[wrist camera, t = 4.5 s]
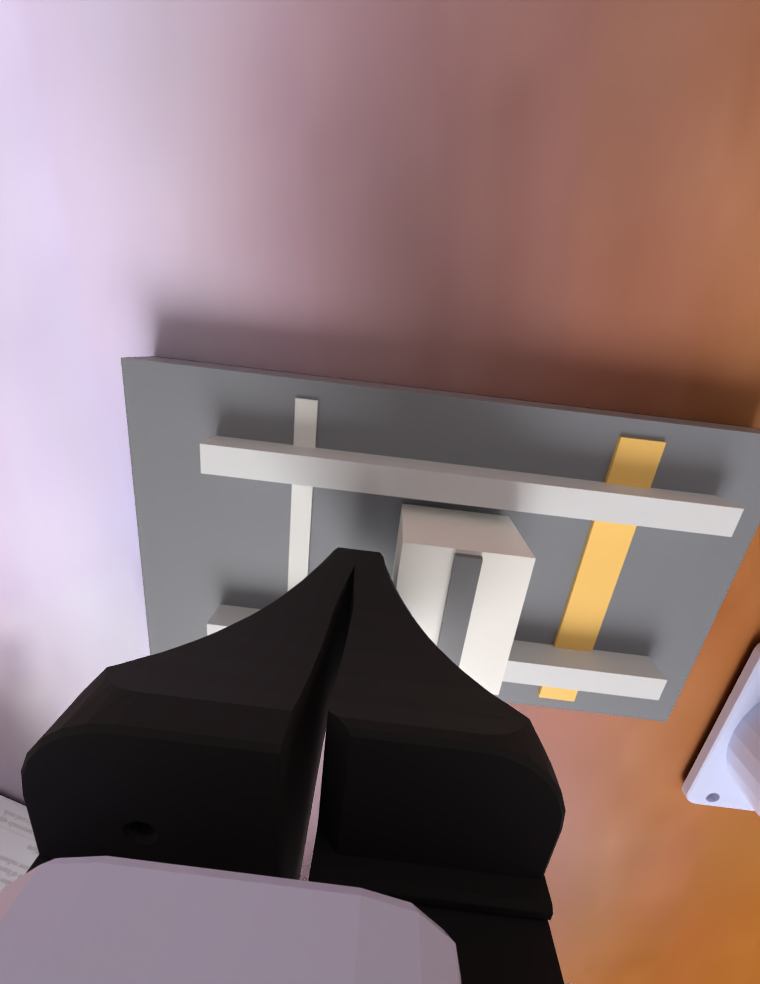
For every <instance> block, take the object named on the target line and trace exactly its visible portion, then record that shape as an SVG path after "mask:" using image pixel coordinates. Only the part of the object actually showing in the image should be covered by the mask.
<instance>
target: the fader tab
mask: <svg viewBox="0 0 760 984" xmlns="http://www.w3.org/2000/svg"><path fill="white" fill-rule="evenodd" d="M535 559H536V558H535V556H534V555H533V553H532V552H531V550H530V549H529V547H528V546H527V544H526V542H525V541H524V539H523V538H522V536H521V535H520V533H519V531H518V530H517V528H516V527H515V525H514V524H513V522H512V521H511V519H510V517H509V516H501V515H493V514H485V513H476V512H468V511H460V510H451V509H443V508H435V507H427V506H418V505H410V504H402V508H401V515H400V522H399V529H398V536H397V544H396V551H395V558H394V565H393V572H392V581H393V583H394V585H395V587H396V589H397V591H398V593H399V595H400V597H401V598H402V600H403V602H404V604H405V605H406V607H407V608H408V610H409V611H410V613H411V614H412V616H413V617H414V619H415V620H416V622H417V623H418V624H419V626H420V627H421V628H422V629H423V631H424V632H425V633H426V634H427V636H428V637H429V638H430V639H431V640H432V641H433V643H434V644H435V645H436V646H437V647H438V648H439V649H440V650H441V651H442V652H443V653H444V654H445V655H446V656H447V657H448V658H449V659H450V660H451V661H452V662H454V663H455V664H456V665H457V666H458V667H459V668H460V669H462V670H463V671H464V672H465V673H466V674H467V675H469V676H470V677H471V678H472V679H474V680H475V681H476V682H477V683H479V684H480V685H481V686H482V687H484V688H485V689H486V690H488V691H489V692H490V693H492V694H493V695H499V691H500V688H501V684H502V680H503V677H504V673H505V669H506V666H507V662H508V658H509V655H510V651H511V647H512V644H513V640H514V636H515V633H516V629H517V625H518V622H519V618H520V614H521V611H522V607H523V603H524V600H525V596H526V592H527V589H528V585H529V581H530V578H531V574H532V570H533V567H534V563H535Z"/></svg>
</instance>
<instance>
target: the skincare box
mask: <svg viewBox="0 0 760 984" xmlns="http://www.w3.org/2000/svg"><path fill="white" fill-rule="evenodd" d="M38 855H39V852H38V848H37V845H36V841H35V837H34V834H33V830H32V826H31V822H30V819H29V815H28V811H27V808H26V806H24V805H22V804H20V803H18V802H15V801H13V800H11V799H8V798H6V797H4V796H1V795H0V893H1V891H2V890H3V889H4V887H5V886H6V885H8V884H10V883H11V882H13V881H14V880H16V879H18V878H19V877H21V876H23V875H24V874H26V872H27V871H28V869H29V868H30V866H31V865H32V864H33V862H34V861H35V859H36V858H37V857H38Z"/></svg>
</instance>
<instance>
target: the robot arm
mask: <svg viewBox="0 0 760 984" xmlns="http://www.w3.org/2000/svg"><path fill="white" fill-rule="evenodd" d="M325 732H326V739H325V750H324V762H323V773H322V784H321V796H320V807H319V818H318V827H317V833H316V839H315V845H314V851H313V856H312V862H311V868H310V874H309V881H303V880H299V878H300V872H301V866H302V860H303V854H304V848H305V843H306V837H307V831H308V825H309V819H310V814H311V808H312V802H313V797H314V791H315V785H316V779H317V774H318V768H319V763H320V757H321V751H322V746H323V740H324V736H325ZM21 776H22V788H23V797H24V800H25V804H26V808H27V811H28V815H29V819H30V822H31V826H32V830H33V834H34V837H35V841H36V845H37V848H38V852H39V855H38V857H37V858H36V859H35V861H34V862H33V864H32V865H31V866H30V868H29V869H28V871H27V872H26V874H24V875H23V876H21V877H19V878H18V879H16V880H14V881H13V882H11V883H10V884H8V885H6V886H5V887H4V889H3V890H2V891H1V893H0V984H569V983H564V981H563V977H562V973H561V970H560V966H559V962H558V958H557V954H556V950H555V946H554V942H553V939H552V935H551V931H550V927H549V923H548V920H551V917H552V915H553V908H552V902H551V898H550V894H549V891H548V887H547V883H546V880H545V876H544V873H545V871H546V868H547V866H548V863H549V861H550V858H551V856H552V853H553V851H554V848H555V845H556V843H557V840H558V838H559V835H560V833H561V830H562V827H563V821H564V816H565V806H564V801H563V796H562V792H561V789H560V787H559V784H558V781H557V778H556V775H555V773H554V770H553V767H552V765H551V763H550V760H549V758H548V756H547V754H546V752H545V749H544V747H543V745H542V743H541V741H540V739H539V737H538V735H537V733H536V731H535V729H534V727H533V725H532V723H531V721H530V719H529V718H527V717H526V716H524V715H523V714H521V713H520V712H518V711H517V710H515V709H514V708H513V707H511V706H510V705H508V704H507V703H505V702H504V701H502V700H501V699H499V698H498V697H496V696H495V695H493V694H492V693H490V692H489V691H488V690H486V689H485V688H484V687H482V686H481V685H480V684H479V683H477V682H476V681H475V680H474V679H472V678H471V677H470V676H469V675H467V674H466V673H465V672H464V671H463V670H462V669H460V668H459V667H458V666H457V665H456V664H455V663H454V662H452V661H451V660H450V659H449V658H448V657H447V656H446V655H445V654H444V653H443V652H442V651H441V650H440V649H439V648H438V647H437V646H436V645H435V644H434V643H433V641H432V640H431V639H430V638H429V637H428V636H427V634H426V633H425V632H424V631H423V629H422V628H421V627H420V626H419V624H418V623H417V622H416V620H415V619H414V617H413V616H412V614H411V613H410V611H409V610H408V608H407V607H406V605H405V604H404V602H403V600H402V598H401V597H400V595H399V593H398V591H397V589H396V587H395V585H394V583H393V581H392V579H391V577H390V575H389V572H388V570H387V567H386V565H385V561H384V557H383V555H382V554H381V553H380V552H374V551H365V550H357V549H349V548H341V547H338V548H336V549H335V550H334V551H333V552H332V553H331V554H330V555H329V556H328V557H327V558H326V559H325V560H324V561H323V562H322V563H321V564H320V565H319V566H318V567H317V568H316V569H314V570H313V571H312V572H311V573H310V574H309V575H308V576H306V577H305V578H304V579H303V580H302V581H301V582H299V583H298V584H297V585H296V586H294V587H293V588H292V589H290V590H289V591H288V592H286V593H285V594H284V595H282V596H281V597H280V598H278V599H277V600H275V601H274V602H272V603H271V604H269V605H268V606H266V607H264V608H263V609H261V610H259V611H257V612H256V613H254V614H252V615H250V616H248V617H246V618H244V619H242V620H240V621H238V622H236V623H234V624H232V625H230V626H228V627H226V628H224V629H222V630H219V631H217V632H215V633H212V634H210V635H208V636H205V637H203V638H200V639H198V640H195V641H192V642H189V643H187V644H184V645H181V646H178V647H176V648H173V649H170V650H167V651H164V652H160V653H157V654H153V655H150V656H146V657H143V658H139V659H136V660H132V661H129V662H125V663H122V664H118V665H114V666H110V667H107V668H106V669H105V670H104V671H103V672H102V673H101V674H100V675H99V676H98V677H97V678H96V679H95V680H94V681H93V682H92V683H91V684H90V685H89V686H88V687H87V688H86V689H85V690H84V691H83V692H82V693H81V694H80V695H79V696H78V697H77V698H76V700H75V701H74V702H73V703H72V704H71V705H70V706H69V707H68V709H67V710H66V711H65V712H64V713H63V714H62V715H61V716H60V717H59V719H58V720H57V721H56V722H55V723H54V724H53V725H52V726H51V727H50V729H49V730H48V731H47V732H46V733H45V734H44V735H43V736H42V737H41V738H40V740H39V741H38V742H37V743H36V744H35V745H34V746H33V747H32V748H31V750H30V751H29V752H28V753H27V755H26V758H25V761H24V764H23V767H22V770H21ZM682 791H683V793H684V795H685V796H686V798H687V799H688V800H689V801H690V802H692V803H696V804H703V805H711V806H719V807H727V808H735V809H744V810H752V811H756V812H757V814H758V815H759V816H760V643H758V644H757V645H756V647H755V648H754V650H753V652H752V654H751V655H750V657H749V659H748V661H747V663H746V665H745V667H744V669H743V671H742V673H741V675H740V677H739V678H738V680H737V682H736V684H735V686H734V688H733V690H732V692H731V694H730V696H729V698H728V700H727V701H726V703H725V705H724V707H723V709H722V711H721V713H720V715H719V717H718V719H717V721H716V722H715V724H714V726H713V728H712V730H711V732H710V734H709V736H708V738H707V740H706V742H705V744H704V745H703V747H702V749H701V751H700V753H699V755H698V757H697V759H696V761H695V763H694V765H693V767H692V768H691V770H690V772H689V774H688V776H687V778H686V780H685V782H684V784H683V786H682Z"/></svg>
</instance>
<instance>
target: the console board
mask: <svg viewBox="0 0 760 984" xmlns="http://www.w3.org/2000/svg"><path fill="white" fill-rule="evenodd" d="M121 364H122V374H123V384H124V394H125V404H126V414H127V424H128V435H129V445H130V455H131V465H132V475H133V485H134V495H135V505H136V515H137V525H138V536H139V546H140V556H141V566H142V576H143V586H144V596H145V606H146V616H147V626H148V636H149V647H150V655H153V654H157V653H160V652H164V651H167V650H170V649H173V648H176V647H178V646H181V645H184V644H187V643H189V642H192V641H195V640H198V639H200V638H203V637H205V636H208V635H210V634H212V633H215V632H217V631H219V630H222V629H224V628H226V627H228V626H230V625H232V624H234V623H236V622H238V621H240V620H242V619H244V618H246V617H248V616H250V615H252V614H254V613H256V612H257V611H259V610H261V609H263V608H264V607H266V606H268V605H269V604H271V603H272V602H274V601H275V600H277V599H278V598H280V597H281V596H282V595H284V594H285V593H286V592H288V591H289V590H290V589H292V588H293V587H294V586H296V585H297V584H298V583H299V582H301V581H302V580H303V579H304V578H305V577H306V576H308V575H309V574H310V573H311V572H312V571H313V570H314V569H316V568H317V567H318V566H319V565H320V564H321V563H322V562H323V561H324V560H325V559H326V558H327V557H328V556H329V555H330V554H331V553H332V552H333V551H334V550H335V549H336V548H338V547H341V548H349V549H357V550H365V551H374V552H380V553H381V554H382V555H383V557H384V561H385V565H386V567H387V570H388V572H389V575H390V577H391V579H392V572H393V565H394V558H395V551H396V544H397V536H398V529H399V522H400V515H401V508H402V504H410V505H418V506H427V507H435V508H443V509H451V510H460V511H468V512H476V513H485V514H493V515H501V516H509V517H510V519H511V521H512V522H513V524H514V525H515V527H516V528H517V530H518V531H519V533H520V535H521V536H522V538H523V539H524V541H525V542H526V544H527V546H528V547H529V549H530V550H531V552H532V553H533V555H534V556H535V558H536V559H535V563H534V567H533V570H532V574H531V578H530V581H529V585H528V589H527V592H526V596H525V600H524V603H523V607H522V611H521V614H520V618H519V622H518V625H517V629H516V633H515V636H514V640H513V644H512V647H511V651H510V655H509V658H508V662H507V666H506V669H505V673H504V677H503V680H502V684H501V688H500V691H499V695H495V696H496V697H498V698H499V699H501V700H502V701H504V702H509V703H518V704H526V705H534V706H542V707H550V708H558V709H567V710H575V711H583V712H591V713H599V714H607V715H616V716H624V717H632V718H640V719H648V720H657V721H665V722H667V720H668V718H669V716H670V714H671V711H672V709H673V707H674V705H675V703H676V701H677V699H678V696H679V694H680V692H681V690H682V688H683V686H684V684H685V681H686V679H687V677H688V675H689V673H690V671H691V669H692V666H693V664H694V662H695V660H696V658H697V656H698V654H699V651H700V649H701V647H702V645H703V643H704V641H705V639H706V637H707V634H708V632H709V630H710V628H711V626H712V624H713V622H714V619H715V617H716V615H717V613H718V611H719V609H720V607H721V604H722V602H723V600H724V598H725V596H726V594H727V592H728V589H729V587H730V585H731V583H732V581H733V579H734V577H735V574H736V572H737V570H738V568H739V566H740V564H741V562H742V559H743V557H744V555H745V553H746V551H747V549H748V547H749V545H750V542H751V540H752V538H753V536H754V534H755V532H756V530H757V527H758V525H759V523H760V429H756V428H751V427H742V426H734V425H725V424H717V423H709V422H700V421H692V420H683V419H675V418H667V417H658V416H650V415H641V414H633V413H625V412H616V411H608V410H599V409H591V408H583V407H574V406H566V405H557V404H549V403H541V402H532V401H524V400H515V399H507V398H499V397H490V396H482V395H473V394H465V393H457V392H448V391H440V390H431V389H423V388H415V387H406V386H398V385H389V384H381V383H373V382H364V381H356V380H347V379H339V378H331V377H322V376H314V375H305V374H297V373H289V372H280V371H272V370H263V369H255V368H247V367H238V366H230V365H221V364H213V363H205V362H196V361H188V360H179V359H171V358H163V357H154V356H150V357H126V358H121Z"/></svg>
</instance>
